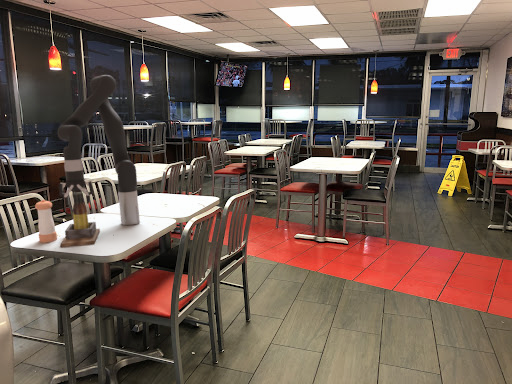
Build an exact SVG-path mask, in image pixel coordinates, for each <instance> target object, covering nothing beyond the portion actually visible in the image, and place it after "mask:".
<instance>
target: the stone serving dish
mask: <svg viewBox="0 0 512 384" xmlns="http://www.w3.org/2000/svg"><path fill="white" fill-rule="evenodd" d="M88 225H89V228H87V229H76V230H74V223H70V224H69V225H68V226H67V227H66V229H65V230H64V234H65V236H64V238H63V239H62V240H61V242H60V244H59V245H60V248H65V247H66V248H67V247H76V246H78V247H79V246H86V245H88V246H89V245H95V244H96V241H97V239H98V238H99V237H98V236H99V235H100V232H101V230H100V228H99V227H98V228H97V223H96V221H88Z"/></svg>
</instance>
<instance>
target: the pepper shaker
mask: <svg viewBox="0 0 512 384" xmlns="http://www.w3.org/2000/svg"><path fill="white" fill-rule="evenodd" d="M52 207H53V203H52V202H51V201H48V200H45V199H41V201H38V202H36V204H35V206H34V208H35V209H36V210H37V215H38V226H37V227H38V232H39V233H38V239H39V240H38V241H39V243H45V244H46V243H53V242H55V241H56V240H58V235H57V231H56V228H55V227H56V226H55V222H54V218H53V216H52V215H53V214H52Z"/></svg>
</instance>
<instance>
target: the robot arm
mask: <svg viewBox="0 0 512 384" xmlns="http://www.w3.org/2000/svg"><path fill="white" fill-rule="evenodd" d="M89 84H90V85H89V86H90V91H91V93H92V94H90V96H89V97H88V98H87V97H86V99H85V100H84V101H83V102H81V104H79V105H78V107H76V109H75V111H74V112H73V114H71V116H69V117H68V118H67V119H66V120H65V121H64V122H62V123H61V125H59V127H58V129H57V137H58V138H59V139H60V140H61V141H64V142H68V144H67V145H68V146H65V147H64V148H63V159H64V163H63V164H64V165H63V166H64V173H65V181H66V182H60V183H58V191H59V193H58V194H59V197H62V198H63V199H64V204H65V205H66V206H70V197H69V195H70V193H71V192H72V193H76V192H82V194H85V198H86V199H85V200H86V204H90V203H91V195H92V194H94V193H95V191H94V186H93V185H94V184H93V181H92V180H88V181H86V180H85V176H84V165H83V160H82V153H81V148H82V141H83V131H82V129H81V128H84V127H85V126H86V125H87V124H88V122H89V121H90V120H91V118H92V116H94V114H95V113H96V111H97V110H98V112H99V115H100V118H101V122H102V126H103V130H104V133H105V136H106V139H107V143H108V145H109V148H110V150H111V153H112V157H113V158H112V159H113V162H114V163H113V164H114V170H115V172H116V174H117V182H118V184H117V193H118V203H119V214H120V215H119V216H120V222H121V223H120V224H121V225H123V226H132V225H133V226H134V225H137V224H140V220H141V218H140V209H139V200H138V199H139V198H138V187H137V186H138V179H137V178H138V177H137V169H136V165H135V163H134V162H132V160H131V159H130V156H129V153H128V149H127V138H126V132H125V128H124V124H123V121H122V118H121V117H120V116H119V114H118V113H117V112H116V110H114V108H113V107H112V105H111V102H110V100H109V97H110V96H111V95H112V94H114V92H115V91H116V90H117V89H116V88H117V82H116V79H115V78H114V77H113V76H112V75H109V74H103V75H98V76H95V77H92V79H91V80H90V83H89ZM86 185H87V186H88V188H89V189H88V190H89V191H88V190H87V188H86V187H85V186H86ZM65 187H67V188H68V189H67V190H66V192H65V193H64V188H65Z"/></svg>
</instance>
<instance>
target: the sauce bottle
mask: <svg viewBox="0 0 512 384" xmlns="http://www.w3.org/2000/svg"><path fill="white" fill-rule="evenodd" d="M83 194H84V193H83V192H82V191H79V192H78V191H76V192H72V197H73V206H72V210H71V212H72V220H73V224H74V230H76V229H87V228H89V225H88V222H89V218H88V211H87V205H86V204H85V203H84V200H83V199H84V198H83Z"/></svg>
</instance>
